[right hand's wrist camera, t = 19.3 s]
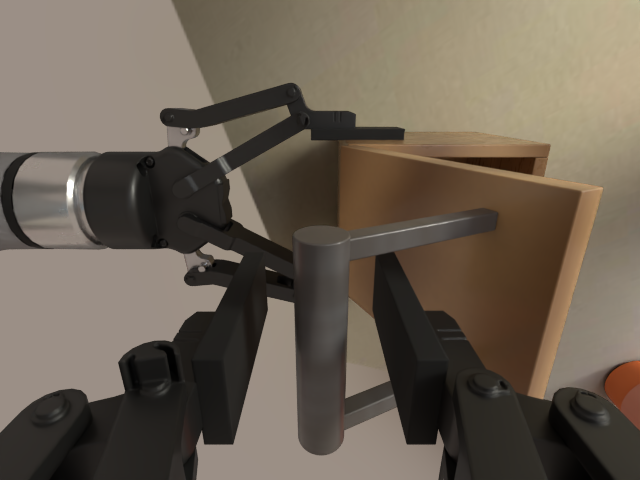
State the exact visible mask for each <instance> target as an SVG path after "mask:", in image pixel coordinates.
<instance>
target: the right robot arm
mask: <svg viewBox="0 0 640 480" xmlns="http://www.w3.org/2000/svg"><path fill="white" fill-rule="evenodd" d="M267 311H268V306H267V289H266V273H265V256H264V252H246V253H245V255H244V257H243V258H242V260H241V262H240V264H239V266H238V268H237V270H236V272H235V274H234V276H233V278H232V280H231V282H230V284H229V286H228V288H227V290H226V292H225V294H224V296H223V298H222V300H221V302H220V304H219V306H218V308H217V310H216V311H215V312H196V313H195V314H193V315H192V316H191V317H189V318H188V319H187V320H185V322H184V323H183V325H182V327H181V328H180V330H179V333H177V335H176V336H175V338H174V340H173V341H172V342H169V341H152V342H148V343H144V344H142V345H139V346H137V347H135V348H133V349H131V350H130V351H129V352H127V353H126V354H125V355H123V357H122V358H121V359H120V361H119V362H118V364H119V368H120V372H121V376H122V380H123V384H124V388H125V393H124V394H122V395H118V396H115V397H111V398H107V399H103V400H98V401H94V402H90V403H88V399H87V396H86V394H84V393H83V392H82V391H81V390H76V389H66V390H59V391H56V392H53V393H50V394H47V395H45V396H43V397H41V398H39V399H38V400H36V401H34V402H32V403H31V404H30V405H29V406H27V407H26V408H25V409H24V410H23V411H21V412H20V413H19V414H18V415H17V416H16V417H15V418H14V419H13V420H12V421H11V422H10V423H9V424H8V425H7V427H6V428H5V429H4V430H3V431H2V432H1V433H0V480H196V476H197V465H198V456H197V450H196V444H197V442H198V439H199V436H200V433H201V431H202V433H203V439H204V444H233V443H234V439H235V435H236V431H237V428H238V424H239V420H240V416H241V412H242V408H243V404H244V400H245V396H246V392H247V389H248V385H249V381H250V377H251V373H252V369H253V365H254V361H255V357H256V354H257V350H258V346H259V342H260V338H261V334H262V330H263V326H264V322H265V319H266V315H267ZM372 311H373V315H374V319H375V322H376V326H377V330H378V334H379V338H380V342H381V346H382V350H383V354H384V358H385V361H386V365H387V369H388V373H389V377H390V381H391V385H392V389H393V393H394V396H395V400H396V404H397V408H398V412H399V416H400V420H401V424H402V427H403V432H404V435H405V439H406V443H407V444H436V439H437V433H438V429H439V432H440V435H441V437H442V440H443V443H444V450H443V456H442V461H441V467H440V473H439V480H443V479H444V480H640V430H639V429H638V428H637V427H636V426H635V425H634V424H633V423H632V422H631V421H630V420H629V419H628V418H627V417H626V416H625V415H624V414H623V413H622V412H621V411H620V410H619V409H618V408H616V407H615V406H614V405H613V404H611V403H610V402H609V401H608V400H606V399H604V398H602V397H600V396H598V395H596V394H595V393H592V392H589V391H586V390H583V389H579V388H571V387H567V388H562V389H559V390H558V391H557V392H555V393H554V396H553V399H552V401H548V400H544V399H539V398H535V397H531V396H526V395H523V394H520V393H517V392H515V390H514V389H513V387H512V386H511V384H510V383H509V382H508V381H507V380H506V379H505V378H503V377H502V376H501V375H499V374H497V373H495V372H493V371H491V370H487V369H486V368H485V366H484V365H483V363H482V361H481V360H480V358H479V357H478V355H477V353H476V352H475V350H474V349H473V347H472V346H471V344H470V342H469V341H468V340H467V338H466V336H465V335H464V333H463V332H462V331H461V328H460V327H459V325H458V323H457V322H456V320H455V319H454V318H452V317H451V316H450V315H448V314H447V313H446V312H444V311H424V310H423V308H422V306H421V304H420V302H419V300H418V298H417V296H416V294H415V292H414V290H413V288H412V286H411V284H410V282H409V280H408V278H407V276H406V274H405V272H404V270H403V268H402V266H401V264H400V262H399V260H398V258H397V257H396V255H395V253H394V252H390V253H386V254H381V255H376V256H375V273H374V289H373V306H372Z"/></svg>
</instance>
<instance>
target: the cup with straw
mask: <svg viewBox="0 0 640 480" xmlns="http://www.w3.org/2000/svg"><path fill="white" fill-rule="evenodd" d="M605 392H606V394H607V395H608V397H609V398H610V399H611V400H612V402H613V403H614V404H615V405H616V407H617V408H618V409H619V410H620V411H621V412H622V413H623V414H624V415H625V416H626V417H627V418H628V419H629V420H630V421H631V422H632V423H633V424H634V425H635V426H636V427H637V428H638V429H639V430H640V361H632V362H628V363H625V364H623V365H621V366H619V367H617V368H616V369H615V370H613V371H612V372H611V373H610V375H609V376H608V377H607V379H606V382H605Z"/></svg>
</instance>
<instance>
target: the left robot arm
mask: <svg viewBox="0 0 640 480" xmlns="http://www.w3.org/2000/svg"><path fill="white" fill-rule="evenodd" d="M284 105H287V106H288V109H289V112H290V114H291V116H290V117H288V118H287V119H285V120H283V121H281V122H280V123H278V124H276V125H275V126H273V127H271V128H269V129H268V130H266V131H264V132H263V133H261V134H259V135H257V136H256V137H254V138H252V139H251V140H249V141H247V142H245V143H244V144H242V145H240V146H239V147H237V148H235V149H233V150H232V151H230V152H228V153H227V154H225V155H223V156H221V157H220V158H218V159H216V160H214V161H213V162H211V163H210V162H208V161H207V160H205V159H204V158H202V157H201V156H199V155H198V154H196V153H195V152H193V151H192V150H191V149H189V148H188V147H186V143H187V141H188V140H189V139H191V138H195V137H197V136H198V135H199V133H200V128H202V127H208V126H213V125H217V124H220V123H224V122H228V121H231V120H235V119H238V118H242V117H245V116H249V115H252V114H256V113H259V112H263V111H266V110H270V109H274V108H277V107H281V106H284ZM160 119H161V121H162V123H163V124H164V125H166V126H167V134H168V147H166V148H165V149H163V150H161V151H159V152H105V153H103V154H100V153H97V152H34V153H4V152H3V153H2V152H0V251H1V250H7V249H105V248H108V247H109V248H112V249H161V248H169V249H173V250H176V251H178V252H180V253H183V254H184V257H185V261H186V265H187V269H188V272H187V274H186V275H185V277H184V281H185V283H186V284H187V285H190V286H200V285H212V284H214V285H218V286H222V287H227V288H228V286H229V284H230V282H231V280H232V278H233V276H234V274H235V272H236V270H237V268H238V266H239V264H240V263H236V262H231V261H227V260H218V259H216V260H214V258H213V256H212V255H206V254H203V253H202V252H201V251H200V250H199V249H200V248H201V247H202V246H204V245H205V244H207V243H208V242H209V243H211V244H213V245H215V246H218V247H220V248H222V249H224V250H232V251H235V252H237V253H239V254H241V255H243V256H244V255H245V253H246V252H264V256H265V266H266V267H268V268H270V269H272V270H274V271H276V272H274V271H270V270H266V269H265V273H266V289H267V297H271V298H275V299H280V300H284V301H288V302H293V303H294V273H293V252H292V251H290V250H288V249H286V248H284V247H282V246H280V245H278V244H276V243H274V242H272V241H270V240H268V239H266V238H264V237H262V236H260V235H258V234H256V233H254V232H252V231H250V230H248V229H246V228H244V227H243V226H242V225H241V224H240V223H238V222H236V221H234V220H232V219H231V217H232V208H231V205H230V202H229V199H228V196H229V190H230V185H229V179H227V178H226V176H225V174H227V173H229V172H230V171H232V170H234V169H236V168H237V167H239V166H241V165H243V164H244V163H246V162H248V161H250V160H251V159H253V158H255V157H257V156H258V155H260V154H262V153H264V152H265V151H267V150H269V149H271V148H272V147H274V146H276V145H278V144H279V143H281V142H283V141H285V140H286V139H288V138H290V137H292V136H293V135H295V134H297V133H299V132H300V131H302V130H304V129H311V140H404V133H405V129H403V128H399V127H355V122H356V114H354V113H352V112H349V111H313V110H310V109H309V108H308V107H307V105H306V103H305V101H304V98H303V95H302V92H301V89H300V88H299V87H298V86H297V85H296V84H294V83H287V84H284V85H280V86H277V87H274V88H270V89H267V90H263V91H260V92H256V93H253V94H249V95H246V96H242V97H239V98H235V99H232V100H228V101H225V102H221V103H218V104H214V105H211V106H208V107H204V108H201V109H197V110H194V109H184V108H167V109H164V110H162V111H161V113H160ZM278 272H279V273H278Z"/></svg>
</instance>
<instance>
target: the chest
mask: <svg viewBox="0 0 640 480" xmlns="http://www.w3.org/2000/svg"><path fill="white" fill-rule="evenodd" d="M348 145H359V146H365V147H371V148H377V149H382V150H388V151H394V152H400V153H406V154H412V155H418V156H423V157H429V158H435V159H441V160H447V161H453V162H459V163H464V164H470V165H476V166H482V167H488V168H494V169H500V170H505V171H511V172H517V173H523V174H529V175H535V176H541V177H544V174H545V169H546V165H547V160H548V158H547V157H548V155H549V151H550V146H551V145H550V144H545V143H539V142H533V141H527V140H520V139H514V138H508V137H502V136H496V135H490V134H484V133H478V132H405V133H404V140H339V154H338V209H337V227H339V214H340V166H341V146H348Z"/></svg>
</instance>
